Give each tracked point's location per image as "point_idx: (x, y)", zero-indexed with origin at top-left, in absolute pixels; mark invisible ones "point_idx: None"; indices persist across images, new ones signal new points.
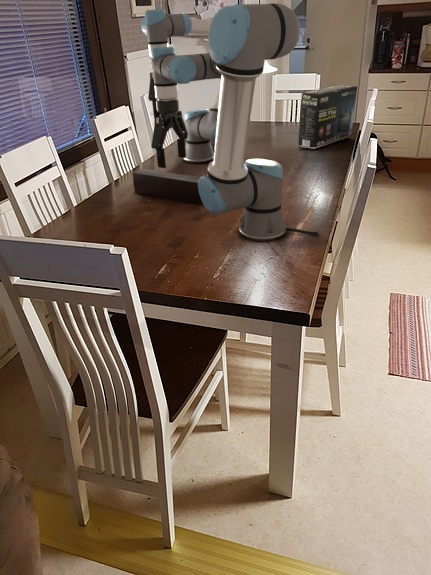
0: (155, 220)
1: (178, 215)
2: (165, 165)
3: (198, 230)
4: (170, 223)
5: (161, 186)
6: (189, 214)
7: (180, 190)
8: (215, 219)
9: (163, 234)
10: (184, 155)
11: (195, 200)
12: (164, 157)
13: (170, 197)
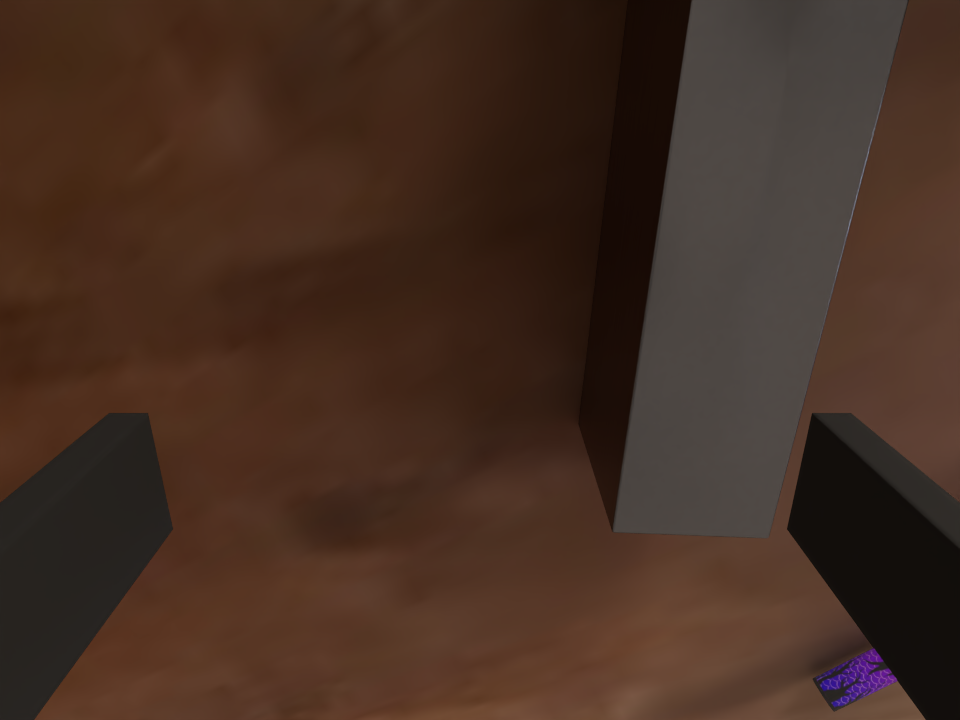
0: (155, 282)
1: (324, 387)
2: (149, 554)
3: (189, 603)
4: (176, 410)
5: (656, 11)
6: (377, 446)
7: (618, 279)
8: (380, 616)
9: (11, 460)
10: (807, 556)
11: (586, 402)
12: (56, 668)
13: (616, 134)
